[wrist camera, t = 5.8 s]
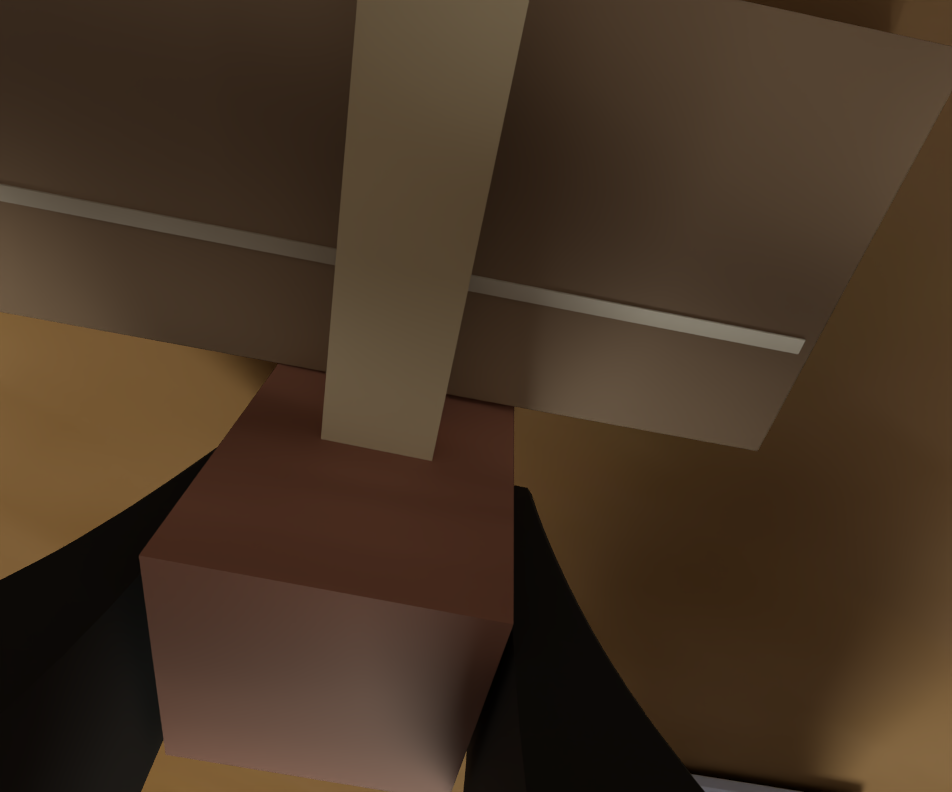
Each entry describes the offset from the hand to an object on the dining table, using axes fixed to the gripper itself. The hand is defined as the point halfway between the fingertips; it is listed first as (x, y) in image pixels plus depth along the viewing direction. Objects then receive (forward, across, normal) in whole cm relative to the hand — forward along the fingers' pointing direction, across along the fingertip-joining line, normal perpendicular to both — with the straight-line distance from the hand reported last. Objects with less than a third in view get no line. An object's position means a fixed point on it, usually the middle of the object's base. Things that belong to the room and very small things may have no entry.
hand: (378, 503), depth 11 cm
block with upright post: (+2, 0, -3) cm, 4 cm away
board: (+2, +1, -6) cm, 6 cm away
